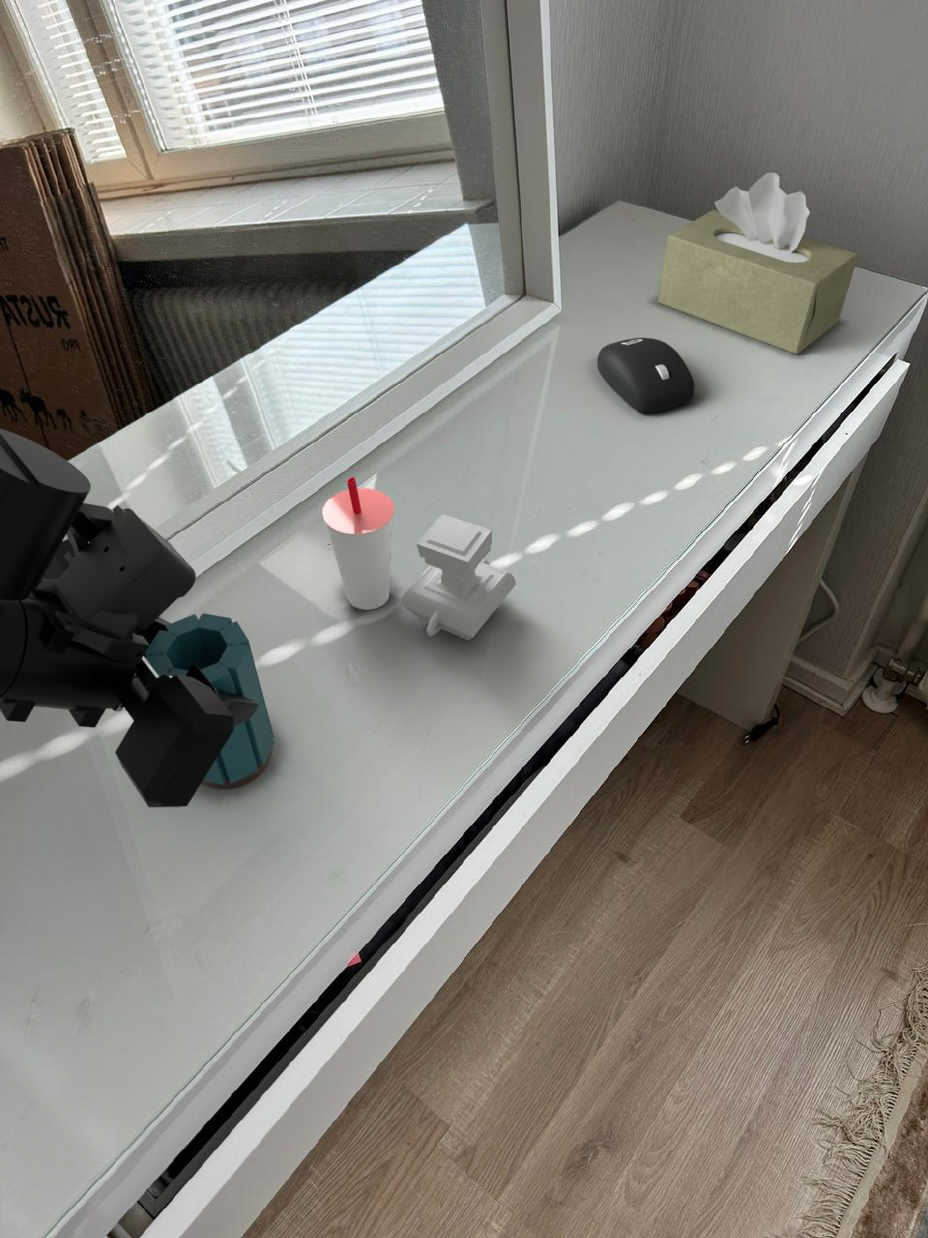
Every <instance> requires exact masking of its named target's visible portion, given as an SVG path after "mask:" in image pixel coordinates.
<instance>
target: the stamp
mask: <svg viewBox="0 0 928 1238" xmlns="http://www.w3.org/2000/svg"><path fill="white" fill-rule="evenodd" d="M492 534H493V531H492V529H489V528H487V527H484V526H481V525H477V524H474V523H471V522H468V521H466V520H463V519H459V518H456V517H453V516H449V515H446V514H444V513H443V514H441V515H440V516H439V517H438V518H437V520H435V522H434V523H433V524H432V525H431V526H430V528H429V529H428V530H427V531H426V532H425V533H424V534H423V535H422V537H421V538H420V539H419V540H418V541H417V542H416V548H417V549H418V554H419V557H421V558H423V559H424V563H426V564H427V565H429V566H428V567H427V568H426V569H425V570H424V571H423V573H422V574H421V575H420V576H419V577H418V578H417V579H416V580H415V581H414V582H413V583H412V584H411V585H410V586H409V588H408V589H407V590H406V591H405V592H404V593H403V595H402V596H401V599H400V604H399V605H400V607H402V608H404V609H405V610H406V611H408V612H409V613H411V614H412V615H414V616H416V617H418V618H419V619H420V621H423V622H425V623H427V627H426V634H427V636H429V637H432V636H435V635H436V634H437V633H438V632H439V631H441V630H443V631H445V632H448V633H450V634H452V635H455V636H457V637H459V638H461V639H464V640H466V641H470V640H471V639H473V638H474V637H475V636H476V634H477V633H478V632H479V630H480V629H481V628H482V627H483V626H484V625H485V623H486V622H487V621H488V620H489V618H490V617H491V616H492V614H493V613H494V612H495V611H496V610H497V609H498V607H499V606H500V605H501V604H502V602H503V601H504V600H505V599H506V598H507V596H508V595H509V594H510V592H511V591H512V590H513V589H514V588H515V586H516V585H517V582H516V578H515V577H514V575H513V574H512V573H510V572H507V571H505V570H502V569H500V568H497V567H495V566H492V565H490V561H489V560H487V559H486V556H488V554H489V553H490V552H491V546H492V544H493V535H492Z"/></svg>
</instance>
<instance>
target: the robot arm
mask: <svg viewBox="0 0 928 1238" xmlns="http://www.w3.org/2000/svg"><path fill="white" fill-rule="evenodd" d="M91 489H92V483H90V480H89V479H88V477H87V476H86V475H85V474H84V473H83V472H82V471H80V469H78V468H77V467H76V466H75V465H74V464H73V463H71V462H69V461H68V460H67V459H65V458H64V457H62V456H61V455H59V454H57V453H56V452H54V451H52V450H50V449H49V448H47V447H45V446H43V445H41V444H39V443H37V442H36V441H34V440H33V441H32V440H30V439H29V438H26V437H24V436H22V435H19V434H17V433H14V432H12V431H9V430H5V429H2V428H0V712H1V714H2V715H3V717H4V719H5V720H6V721H7V722H19V723H26V721H27V720H28V718H29V716H30V715H31V713H32V711H33V709H34V707H39V708H48V709H57V710H58V709H59V710H68V712H69V714H70V715H71V717H72V718H73V720H74V721H75V723H76V724H77V727H82V728H92V729H93V728H94V729H95V728H96V727H97V726H98V724H99V722H100V720H101V718H102V717H103V715H104V713H105V712H106V710H113V711H114V712H118V713H119V712H122V711H123V709H124V710H125V711H126V712H127V713H128V715H129V716H130V718H131V720H132V723H131V724H130V726H129V728H128V729H127V731H126V733H125V735H124V736H123V737H122V740H121V741H120V743H119V744H118V746H117V748H116V749H115V752H114V753H115V755H116V758H117V760H118V762H119V765H121V768H122V769H123V770H124V772H125V774H126V776H127V777H128V778H129V780H130V781H131V783H132V784H133V786H134V787H135V789H136V790H137V792H138V793H139V795H140V796H141V798H142V799H143V801H144V802H145V804H146V806H147V807H148V808H181V807H184V808H185V807H188V806H189V804H190V802H191V801H192V799H193V797H194V796H195V794H196V792H197V791H198V789H200V786H201V784H203V783H202V781H203V780H204V778H205V776H206V775H207V773H208V772H209V770H210V768H211V767H212V765H213V763H214V762H215V760H216V759H217V757H218V755H219V754H220V752H221V751H222V749H223V747H224V746H225V744H226V742H227V741H228V739H229V738H230V736H231V734H232V733H233V727H234V726H236V725H238V724H240V723H242V722H244V721H246V720H248V719H250V718H251V717H252V716H253V715H254V713H255V712H256V710H257V708H258V706H259V705H258V704H257V702H256V701H254V700H251V699H248V698H246V697H243V696H240V695H236V694H233V693H229V692H225V691H222V690H218V689H215V687H214V686H213V685H212V684H211V682H210V681H209V680H208V679H207V677H206V676H205V675H204V674H203V672H202V671H201V670H200V669H199V667H198V666H197V665H196V664H195V663H193V664H192V666H191V667H190V669H189V671H188V672H187V674H186V676H180V675H175V676H171V675H166V674H163V675H161V676H160V677H159V675H158V674H157V673H156V672H155V670H154V669H153V668H152V666H151V665H150V664H149V662H148V661H147V660H146V658H147V657H146V655H145V652H146V651H147V649H148V647H149V646H150V644H151V642H152V641H153V639H154V638H155V636H156V635H157V633H158V632H159V630H161V631H167V630H166V627H165V626H166V625H168V624H171V623H172V622H170V621H168V620H166V619H164V618H163V617H161V615H162V614H163V613H165V612H166V610H167V609H168V608H170V606H172V605H173V604H174V603H175V602H176V601H177V600H178V599H179V598H184V596H186V595H187V594H188V593H189V592H190V591H191V590H192V588H193V586H194V584H195V582H196V578H197V574H196V571H195V569H194V568H193V567H192V566H191V564H190V563H188V562H187V561H186V559H184V558H183V556H182V555H181V554H180V553H179V552H178V550H176V548H175V547H174V545H172V543H171V542H169V540H167V539H166V538H165V537H164V536H162V535H161V534H160V533H159V532H158V531H156V530H155V529H154V528H153V527H152V526H151V525H149V523H147V522H146V521H145V520H143V518H141V517H139V516H138V514H137V513H136V512H135V511H134V510H133V509H132V508H127V507H126V508H122V507H121V506H120V505H119V504H117V505H115V506H114V508H112V509H111V508H110V507H108V506H104V505H99V504H98V505H97V504H92V503H86V502H85V500H86V499H87V497H88V495H89V494H90V492H91ZM66 537H67V539H65V538H66Z"/></svg>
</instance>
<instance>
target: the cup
mask: <svg viewBox="0 0 928 1238" xmlns="http://www.w3.org/2000/svg"><path fill="white" fill-rule="evenodd" d="M346 485H347V490H346V489H345V490H343V491H340V492H338V493H336V494H334V495H333V496H331V497H330V498H328V500H327V501H326V502H325V503H324V505H323V507H322V512H321V516H322V519H323V521H324V523H325V524H326V528H327V531H328V534H329V539H330V542H331V545H332V549H333V552H334V557H335V560H336V563H337V567H338V570H339V573H340V578H341V581H342V584H343V588H344V590H345V594H346V598H347V600H348V602H349V604H350V605H351V606H352V607H354V608H355V609H358V610H363V611H369V610H370V611H371V610H375V609H378V608H380V607H382V606H383V605H385V604H386V603H387V601H388V600H389V598H390V591H391V589H390V587H391V572H392V571H391V570H392V569H391V568H392V567H391V566H392V540H393V517H394V514H395V504H394V502H393V500H392V499H391V498H390V497H389V495H387V494H385V493H384V492H382V491H380V490H378V489H374V488H367V487H358V486H357V482H356V477H355V476H351V477H350V478H349V479H348V480H347V481H346Z"/></svg>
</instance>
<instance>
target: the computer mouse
mask: <svg viewBox="0 0 928 1238" xmlns="http://www.w3.org/2000/svg"><path fill="white" fill-rule="evenodd" d="M596 363H597V369H598V372H599V374H600V375H601V377H602V378H603V380H604V381H605V382H606V384H608V386H609V387H611V389H612V390H613V391H614V392H615V393H616V394H617V395H618V396H619V397H621V398H622V400H624V402H626V403H627V404H628V405H629V406H630V407H632V408H633V409H634V410H636V411H638V412H639V413H656V412H660V411H665V410H668V409H671V408H675V407H678V406H681V405H684V404H687V403H689V402H690V401H692V400H693V398H694V396H695V381H694V377H693V375H692V373H691V371H690V369H689V367H688V365H687V363H686V362H685V361H684V359H683V358H682V356H681V355H680V353H679V352H677V350H676V349H675V348H673V347H672V346H670V345H669V344H668V343H667V342H665V341H662V340H660V339H657V338H651V337H634V338H628V339H622V340H619V341H618V340H617V341H616V342H612V343H609V344H606V345H604V346H603V347H602V348H601V349H600V351H599V352H598V356H597V361H596Z"/></svg>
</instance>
